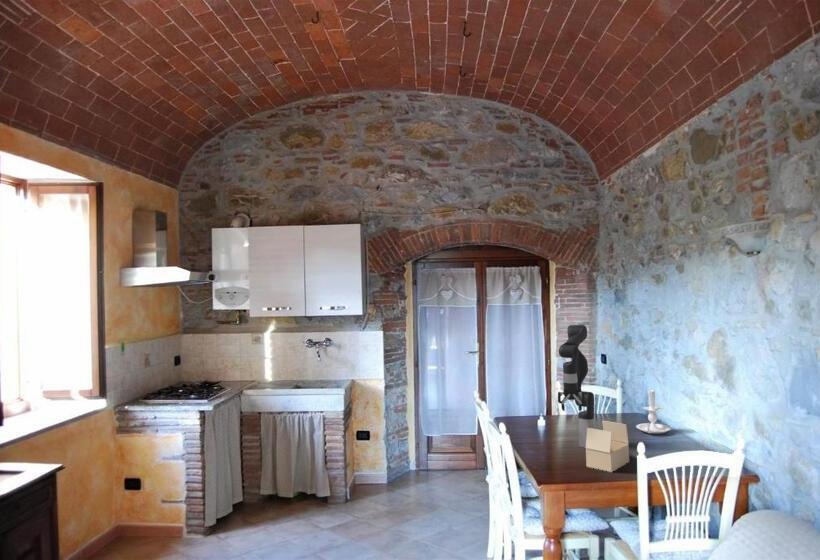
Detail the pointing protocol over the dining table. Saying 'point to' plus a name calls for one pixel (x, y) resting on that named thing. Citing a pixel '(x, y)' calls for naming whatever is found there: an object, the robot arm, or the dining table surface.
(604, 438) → the front flap
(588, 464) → the carton
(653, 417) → the candlestick
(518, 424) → the dining table surface
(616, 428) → the back flap
